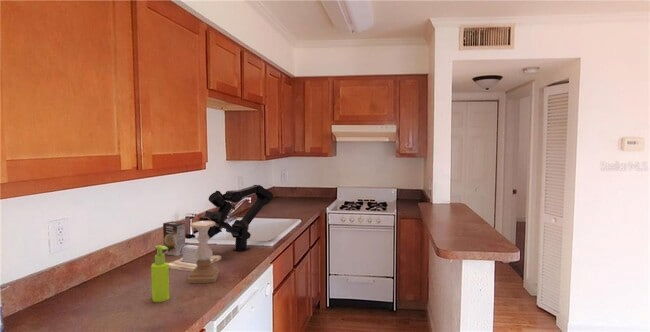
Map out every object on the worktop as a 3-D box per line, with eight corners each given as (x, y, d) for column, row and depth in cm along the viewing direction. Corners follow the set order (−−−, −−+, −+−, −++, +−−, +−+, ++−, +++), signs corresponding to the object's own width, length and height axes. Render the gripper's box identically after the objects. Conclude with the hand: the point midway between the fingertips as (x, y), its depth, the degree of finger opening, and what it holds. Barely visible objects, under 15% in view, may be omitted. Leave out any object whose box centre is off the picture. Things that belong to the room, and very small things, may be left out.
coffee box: (163, 254, 196) (162, 223, 195) (172, 250, 202) (171, 220, 201) (176, 256, 192) (176, 224, 191) (186, 252, 198) (185, 222, 197)
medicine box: (202, 264, 181) (201, 246, 180) (195, 267, 176) (195, 248, 176) (188, 262, 183) (188, 244, 183) (182, 264, 179) (181, 246, 179)
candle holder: (193, 274, 167) (192, 220, 165) (219, 273, 168) (218, 220, 166) (187, 283, 156) (186, 226, 154) (214, 282, 157) (213, 225, 155)
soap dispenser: (160, 304, 136) (159, 249, 135) (148, 299, 140) (147, 246, 139) (174, 298, 141) (173, 245, 140) (163, 294, 145) (161, 242, 144)
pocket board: (194, 255, 194) (194, 252, 194) (221, 258, 188) (221, 255, 188) (166, 267, 175) (165, 264, 175) (194, 271, 170) (194, 268, 170)
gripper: (200, 201, 192) (183, 228, 185) (227, 207, 183) (210, 235, 176) (213, 212, 200) (197, 238, 193) (239, 218, 191) (223, 246, 184)
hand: (206, 239), depth 186 cm, fingers closed
